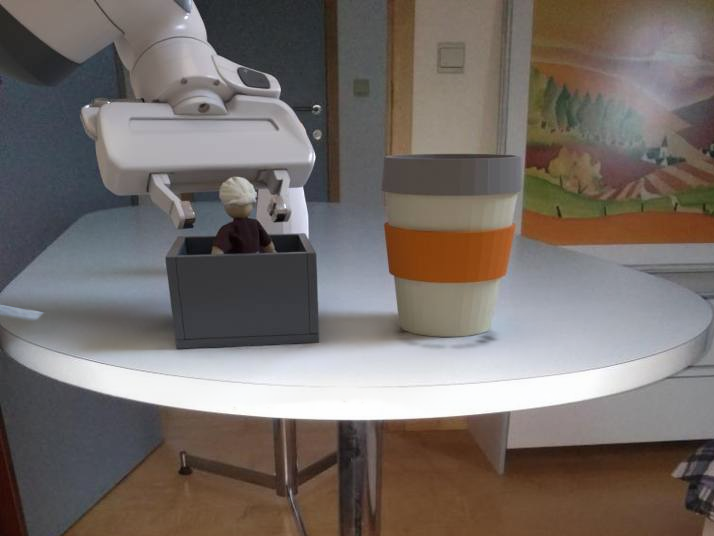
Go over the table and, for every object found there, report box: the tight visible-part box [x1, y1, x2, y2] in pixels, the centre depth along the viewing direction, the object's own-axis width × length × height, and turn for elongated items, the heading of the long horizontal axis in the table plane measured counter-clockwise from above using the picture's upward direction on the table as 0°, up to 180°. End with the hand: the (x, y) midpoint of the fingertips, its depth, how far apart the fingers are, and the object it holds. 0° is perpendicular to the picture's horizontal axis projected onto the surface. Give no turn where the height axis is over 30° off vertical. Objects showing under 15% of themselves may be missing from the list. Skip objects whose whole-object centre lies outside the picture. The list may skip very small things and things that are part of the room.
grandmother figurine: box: [211, 177, 277, 254], centre depth 66 cm, size 8×4×13 cm, turn 150°
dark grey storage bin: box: [164, 233, 320, 350], centre depth 68 cm, size 13×13×8 cm
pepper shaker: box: [255, 122, 309, 239], centre depth 92 cm, size 7×7×19 cm
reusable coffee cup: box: [380, 153, 523, 338], centre depth 67 cm, size 13×13×15 cm
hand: (236, 221), depth 65 cm, fingers open, 8 cm apart
